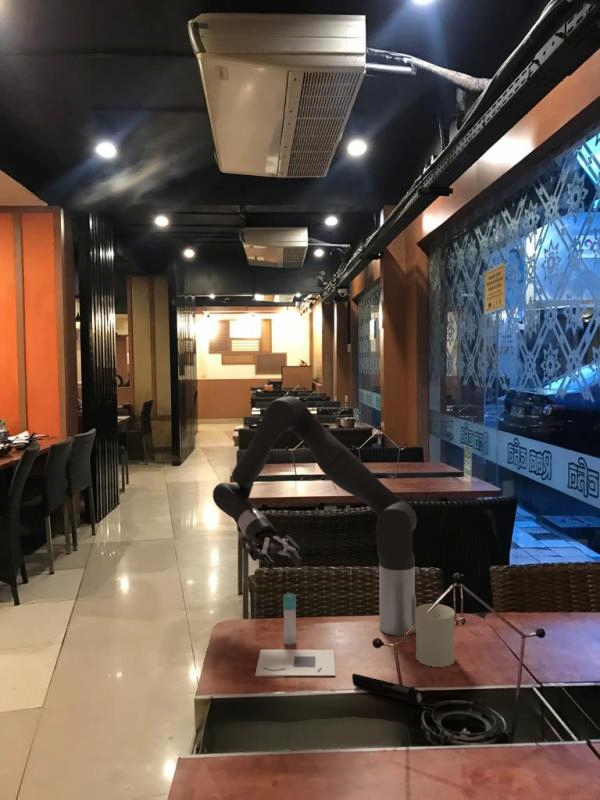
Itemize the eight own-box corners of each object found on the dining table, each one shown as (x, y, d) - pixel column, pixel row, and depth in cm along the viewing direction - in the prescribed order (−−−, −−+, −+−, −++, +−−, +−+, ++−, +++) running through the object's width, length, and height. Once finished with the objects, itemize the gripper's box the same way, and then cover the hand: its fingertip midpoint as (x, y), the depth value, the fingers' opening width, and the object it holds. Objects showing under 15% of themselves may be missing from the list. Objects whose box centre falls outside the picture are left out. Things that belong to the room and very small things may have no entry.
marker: (296, 639, 154) (296, 593, 154) (296, 644, 151) (295, 598, 150) (284, 639, 154) (283, 593, 154) (283, 644, 151) (282, 598, 150)
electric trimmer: (356, 682, 134) (356, 668, 134) (424, 700, 126) (424, 685, 126) (349, 690, 130) (349, 676, 130) (418, 709, 123) (418, 694, 123)
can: (419, 668, 139) (419, 617, 138) (412, 649, 148) (412, 601, 147) (459, 667, 139) (459, 616, 138) (449, 648, 148) (449, 601, 147)
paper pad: (333, 651, 147) (333, 649, 147) (335, 676, 135) (335, 674, 135) (260, 651, 148) (260, 649, 148) (255, 676, 136) (255, 674, 136)
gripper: (238, 518, 161) (267, 555, 149) (281, 515, 170) (312, 550, 158) (230, 541, 164) (259, 580, 152) (273, 537, 172) (303, 573, 160)
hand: (286, 565), depth 155 cm, fingers open, 8 cm apart
